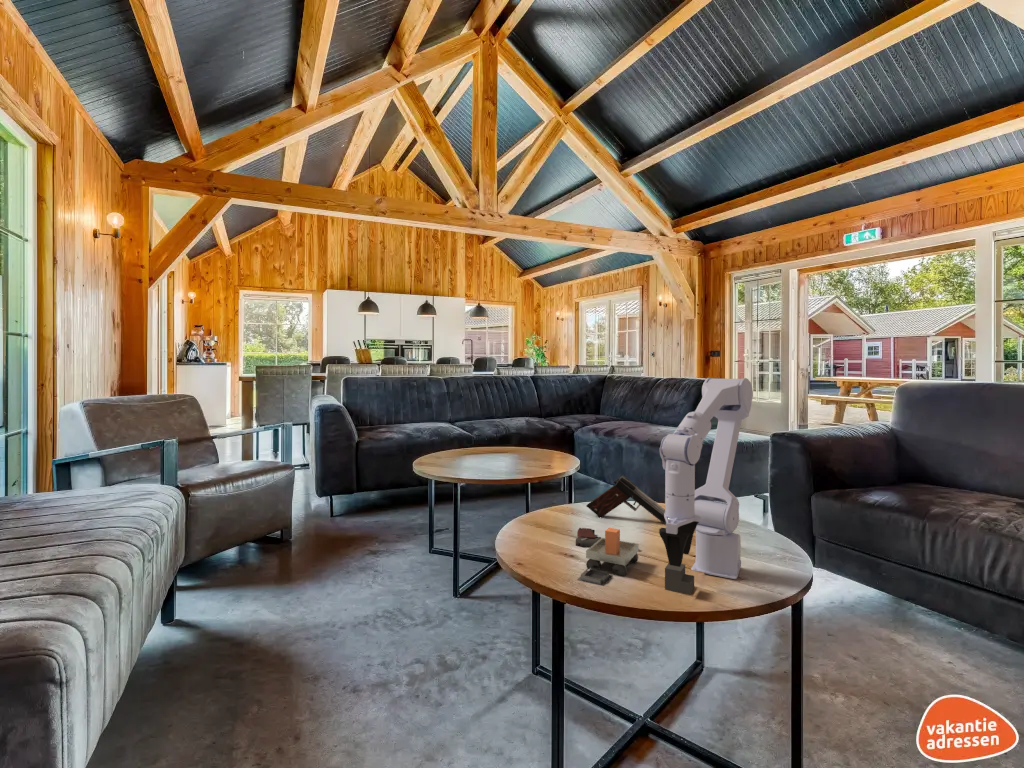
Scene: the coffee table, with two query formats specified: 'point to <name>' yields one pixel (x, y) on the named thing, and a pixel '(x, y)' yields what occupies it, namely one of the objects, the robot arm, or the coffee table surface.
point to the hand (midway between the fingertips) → (679, 559)
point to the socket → (595, 576)
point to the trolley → (612, 556)
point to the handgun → (621, 494)
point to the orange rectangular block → (612, 540)
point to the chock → (678, 579)
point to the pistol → (586, 537)
